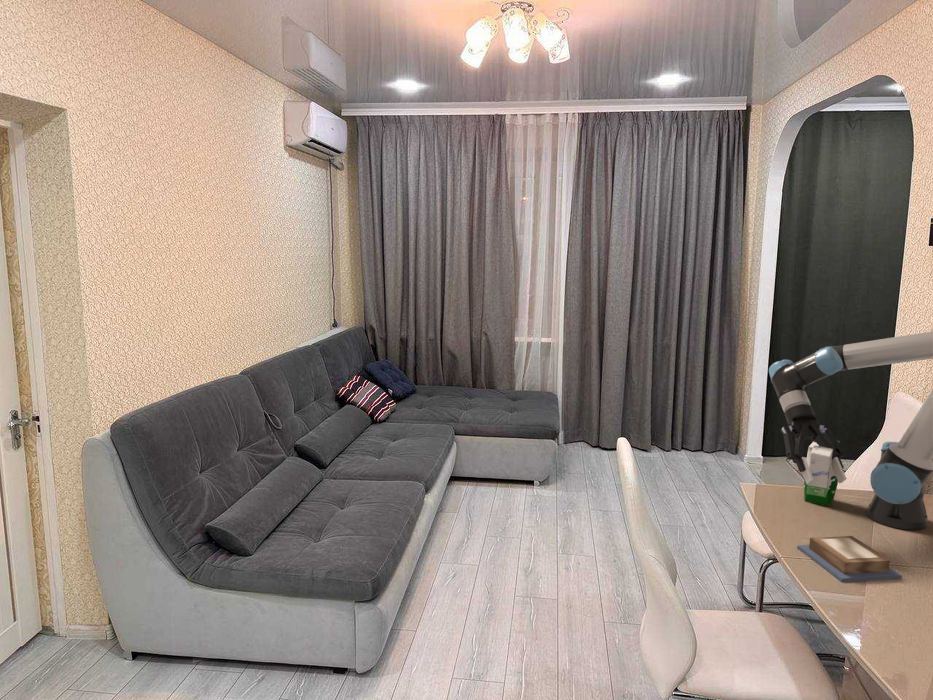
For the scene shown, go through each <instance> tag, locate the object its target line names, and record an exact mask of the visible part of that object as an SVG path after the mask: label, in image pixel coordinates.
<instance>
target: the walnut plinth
mask: <svg viewBox="0 0 933 700" xmlns="http://www.w3.org/2000/svg"><path fill="white" fill-rule="evenodd" d="M808 545H809V549H810V550H812V551H813V552H815V553H816V554H817V555H819V556H820V557H821V558H823V559H824V560H825V561H827V562H828V563H829V564H831V565H832V566H833V567H835V568H836V569H838V570H839V571H840V572H842V573H843V574H858V573H878V572H889V567H890V568H891V566H890V565H891V560H890V559H889V558H887V557H885V555H884V556H883V555H882V554H881V553H879V552H878V551H876V550H874V549H873V548H872V547H870V546H869V545H867V544H866V543H863V542H862V541H860V540H859V539H858V538H856V537H854V536H853V535H846V536H845V535H843V536H842V535H841V536H821V537H820V536H818V537H809V544H808Z"/></svg>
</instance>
